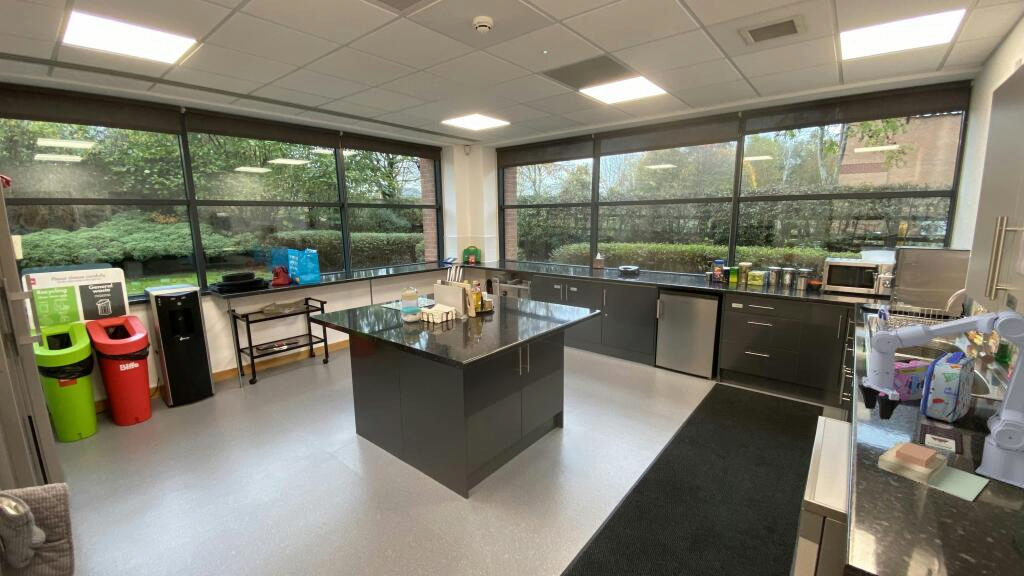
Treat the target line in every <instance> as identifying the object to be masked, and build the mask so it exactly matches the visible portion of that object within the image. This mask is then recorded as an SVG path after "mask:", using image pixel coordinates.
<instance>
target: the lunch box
mask: <svg viewBox="0 0 1024 576" xmlns="http://www.w3.org/2000/svg"><path fill="white" fill-rule="evenodd" d="M929 364H930V365H929V368H928V371H927V372H926V374H925V376H926V377H925V383H924V387H923V392H922V399H920V407H919V410H920V413H919V414H921V415H923V416H928V417H930V418H933V419H935V420H939V421H940V420H941V421H944V422H947V423H953V422H955V421H958V420H960V419H962V418H964V416H966V415H967V413H968V411H969V410H970V406H971V405H970V404H971V394H972V391H973V386H974V385H973V384H974V378H975V366H976V362H975V358H974V357H971V356H966V355H965V351H964V352H962V351H954V352H953V353H952V352H944V353H943V354H941V355H939V356H938V357H937V358H935V359H933V360H932V361H931V362H930V363H929Z"/></svg>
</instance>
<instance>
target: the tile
mask: <svg viewBox="0 0 1024 576" xmlns="http://www.w3.org/2000/svg"><path fill="white" fill-rule="evenodd" d="M905 443H906V444H905V445H903V446H902V447H901V448H899V449H898V450H896V457H895V458H898V459H901V460H904V461H907V462H910V463H913V464H916V465H919V466H921V467H924V468H925V467H926V466H927V465H928V464H930V463H931V462H932V461H933V460H934V459H935V458H936V455H937V453H938V451H937V450H935V449H932V448H930V447H929V448H928V447H927V446H924V445H920V444H916V443H913V442H909V441H906V442H905Z"/></svg>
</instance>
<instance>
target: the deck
mask: <svg viewBox="0 0 1024 576" xmlns="http://www.w3.org/2000/svg"><path fill="white" fill-rule="evenodd" d="M906 443H907V442H904V441H899V442H898V443H897V444H895V445H894V446H892V447H891V448H890V449H888V450H887V451H885V452H884V453H883V454H881V455H880V456H878V462H877V468H879V469H882V470H885V471H887V472H890V473H892V474H896V475H898V476H901V477H903V478H906V479H908V480H911V481H914V482H917V483H919V482H920V483H919V484H922V483H923V484H922V485H925V486H927V484H928V483H929V482H930V481H931V480H932V479H933V478H934V477H935V476H936V475H937V474H938V473H939V472H940V471H941V470H943V469H944V468H945V467H946V466H948V458H949V456H947V455H944V454H941V453H938V452H937V455H936V458H935V459H934V460H933V461H932V462H931V463H930V464H928V465H927V466H926V467H925V468H924V467H921V466H919V465H916V464H913V463H910V462H907V461H904V460H901V459H898V458H895V457H896V450H898V449H899V448H901V447H902V446H903V445H905V444H906Z"/></svg>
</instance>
